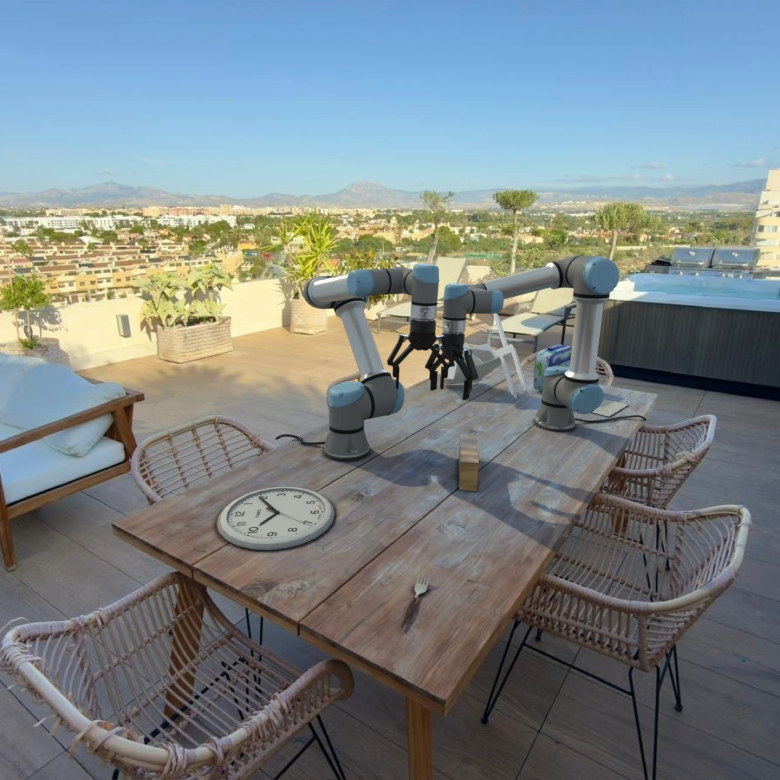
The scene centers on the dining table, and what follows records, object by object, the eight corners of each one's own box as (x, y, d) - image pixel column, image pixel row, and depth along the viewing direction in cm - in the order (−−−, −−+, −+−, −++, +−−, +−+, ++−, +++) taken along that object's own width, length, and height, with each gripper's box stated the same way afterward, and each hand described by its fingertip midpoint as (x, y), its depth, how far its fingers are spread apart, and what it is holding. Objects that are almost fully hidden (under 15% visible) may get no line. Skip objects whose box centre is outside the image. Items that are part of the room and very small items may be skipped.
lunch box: (550, 397, 237) (555, 352, 231) (529, 391, 245) (533, 348, 238) (577, 386, 255) (582, 344, 249) (556, 381, 262) (561, 340, 256)
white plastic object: (461, 429, 252) (437, 405, 227) (444, 352, 274) (420, 323, 250) (535, 404, 240) (518, 377, 215) (510, 326, 262) (492, 293, 237)
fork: (394, 628, 99) (394, 619, 99) (419, 578, 113) (419, 570, 113) (407, 632, 98) (408, 623, 98) (430, 581, 113) (431, 573, 112)
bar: (458, 459, 173) (460, 433, 170) (474, 460, 172) (476, 434, 170) (459, 490, 152) (460, 462, 150) (476, 491, 152) (478, 463, 149)
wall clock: (333, 542, 123) (202, 546, 121) (333, 547, 124) (203, 552, 121) (335, 482, 152) (229, 485, 149) (335, 487, 152) (230, 490, 150)
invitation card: (608, 416, 214) (573, 407, 224) (608, 416, 214) (573, 408, 224) (628, 404, 229) (594, 396, 238) (628, 405, 229) (594, 397, 238)
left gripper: (381, 320, 148) (378, 391, 155) (468, 322, 149) (462, 392, 156) (380, 315, 155) (378, 383, 162) (463, 317, 156) (457, 384, 163)
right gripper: (416, 327, 175) (413, 388, 181) (479, 339, 159) (474, 405, 165) (430, 325, 180) (427, 384, 187) (492, 336, 164) (487, 400, 171)
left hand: (419, 387), depth 159 cm, fingers open, 13 cm apart
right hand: (449, 394), depth 176 cm, fingers open, 13 cm apart
